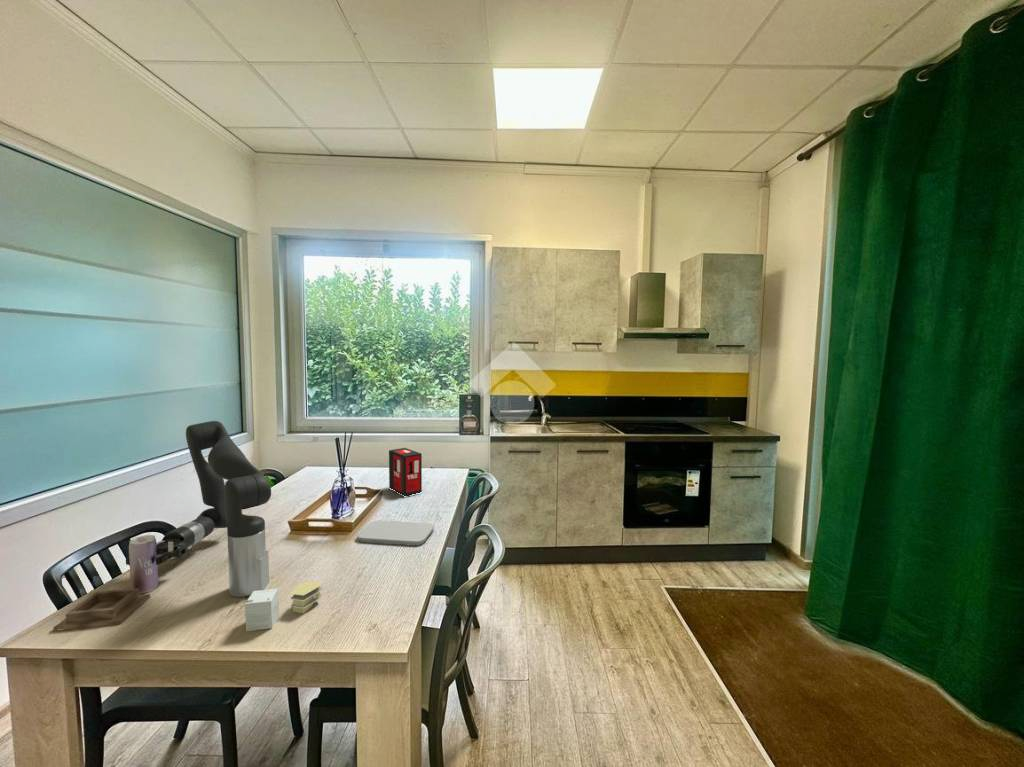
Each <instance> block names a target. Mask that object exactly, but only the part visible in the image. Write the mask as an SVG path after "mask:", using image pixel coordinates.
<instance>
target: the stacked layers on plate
mask: <svg viewBox="0 0 1024 767" xmlns="http://www.w3.org/2000/svg"><path fill="white" fill-rule="evenodd" d="M322 585H323V584H322V582H321V581H305V582H302V583H300V584H299V585H298V586H297V587H296V588H294V589H293V591H292V592H291V593H290V595H292V596H291V597H290V600H292V604H291V605H290V607H291V608H292V612H293V613H298V614H299V613H300V614H305V613H306V612H308V611H309V609H311V608H312V607H314V606H313V604H314V603H316V602H318V601H319V600H320V599H321V598H323V595H322V592H321V591H322V590H323V588H322V587H321V586H322Z"/></svg>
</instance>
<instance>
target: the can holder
mask: <svg viewBox="0 0 1024 767" xmlns="http://www.w3.org/2000/svg"><path fill="white" fill-rule="evenodd" d="M150 598H151V594H150V593H145V594H139V588H136V589H131V588H127V589H117V590H104V591H103V590H102V591H96V592H94V593H93V594H91V595H90V596H89V597H88V598H85V600H83V601H82V602H81V603H79V604H78V605H76V606H75V607H73V608H72V609H71V610H70V611H68V612H67V613H65V618H64V619H63V620H61V621H60V622H58V623H57V624H56V625H54V626H53V631H54V630H58V629H70V630H77V629H78V630H79V629H86V628H88V629H89V628H90V629H91V628H97V627H98V628H99V627H108V626H117V625H121V624H122V623H123V622H125V620H127V619H128V618H129V617H130V616H131V615H132V614H134V612H136V611H137V610H138V609H139V608H141V606H143V605H144V603H146V602H147V601H148V600H150Z"/></svg>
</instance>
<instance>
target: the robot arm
mask: <svg viewBox="0 0 1024 767" xmlns="http://www.w3.org/2000/svg"><path fill="white" fill-rule="evenodd" d="M185 438H186V443H187V447H188V450H189V454H190V457H191V460H192V464H193V466H194V469H195V472H196V475H197V477H198V482H199V485H200V486H199V488H200V493H201V497H202V498H201V500H202V503H203V504H204V505H206V506H209V507H210V508H207V509H204V510H203V511H202V512H201V513H199V515H198V516H197V517H196V518H195V519H193V520H192V521H189V522H187V523H184V524H182V525H180V526H179V527H177V528H175V529H173V530H171V531H169V532H167V533H166V534H165V535H164V536H163V537H162V539H161V540H160V541H156V546H157V558H156V565H157V566H160V565H162V564H163V563H166V562H167V561H168V560H172V559H175V558H176V559H180V558H182V557H183V556H185V555H187V554H188V553H189V552H190V551H192V550H193V546H195V545H196V544H198V543H199V542H200V541H201V540H203V539H204V538H206V537H209V535H210V534H212V532H213V531H214V529H226V528H227V529H226V530H227V533H226V535H227V559H228V584H229V585H228V586H229V588H228V589H229V594H230V595H231V596H232V597H235V598H237V597H238V598H240V597H241V598H242V597H247V596H249V597H250V596H251V594H252V593H253V591H259V590H265V588H266V587H267V585H268V584H269V583H270V565H269V564H270V562H269V557H270V556H269V551H268V550H266V546H267V545H266V522H265V519H264V518H263V517H262V516H259V515H249V514H244V513H243V510H247V509H248V510H249V509H251V508H255V507H259V506H262V505H264V504H266V503H268V502H269V500H270V499H271V496H272V488H271V484H270V482H269V479H268V478H267V477H266V476H265V475H264V473H262V471H260V470H259V469H258V468H256V466H254V465H253V464H252V463H251V462H250V461H249V459H248V458H247V457H246V455H245V454H244V453H243V451H242V450H241V449H240V447H238V446H237V444H236V443H235V442H234V441H233V440H232V438H231V437H230V435H229V433H228V431H227V428H226V427H225V425H223V423H222V422H220V421H218V420H210V421H205V422H199V423H194V424H190V425H188V426H187V427H186V429H185ZM207 449H208V450H209V449H210V451H209V453H208V457H207V460H206V459H205V457H204V455H203V453H202V451H204V450H207ZM225 480H226V481H225ZM125 565H126V566H130V561H129V556H127V557H126V558H125Z"/></svg>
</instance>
